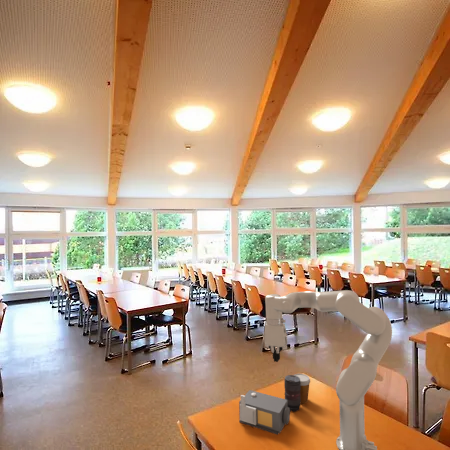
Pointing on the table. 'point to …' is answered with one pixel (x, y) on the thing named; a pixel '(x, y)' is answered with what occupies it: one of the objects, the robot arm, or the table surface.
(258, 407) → the housing
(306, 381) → the disposable coffee cup
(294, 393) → the camera lens
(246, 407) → the hatch
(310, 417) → the table surface
